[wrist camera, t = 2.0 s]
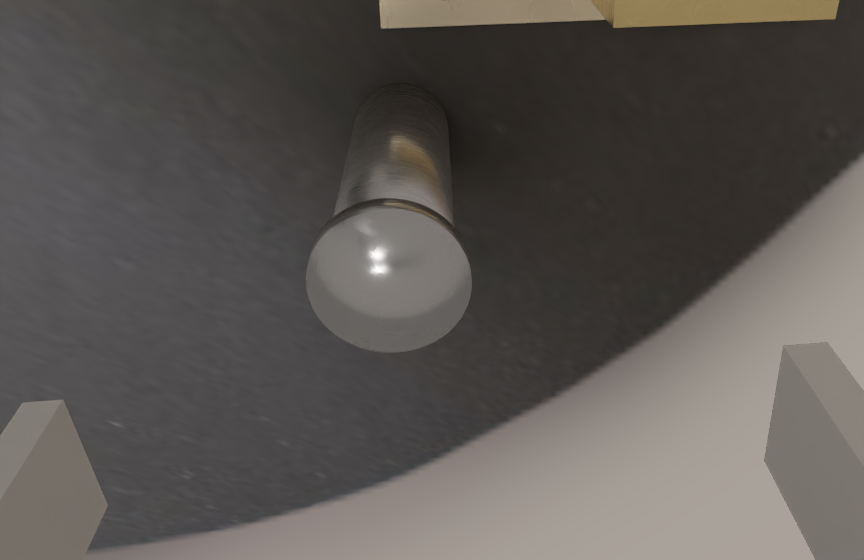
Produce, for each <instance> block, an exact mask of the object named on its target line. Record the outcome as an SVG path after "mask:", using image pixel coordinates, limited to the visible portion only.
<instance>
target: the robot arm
mask: <svg viewBox="0 0 864 560" xmlns="http://www.w3.org/2000/svg"><path fill="white" fill-rule="evenodd" d="M764 461H765V463H766V465H767V467H768V468H769V470H770V472H771V474H772V476H773V478H774V480H775V482H776V484H777V486H778V488H779V490H780V492H781V494H782V496H783V497H784V500H785V501H786V503H787V505H788V507H789V509H790V511H791V513H792V515H793V517H794V519H795V521H796V522H797V525H798V527H799V529H800V530H801V533H802V534H803V536H804V538H805V540H806V542H807V544H808V546H809V548H810V550H811V552H812V554H813V556H814V558H815V560H864V391H863V389H862V388H861V387H860V385H859V384H858V383H857V382H856V380H855V379H854V377H853V376H852V375H851V373H850V372H849V371H848V369H847V368H846V367H845V365H844V364H843V363H842V362H841V360H840V359H839V358H838V356H837V355H836V353H835V352H834V351H833V349H832V348H831V347H830V346H829V344H828V343H827V342H826V343H825V342H824V343H811V344H798V345H784V346H783V351H782V357H781V363H780V369H779V375H778V381H777V387H776V393H775V399H774V405H773V411H772V417H771V423H770V429H769V435H768V442H767V447H766V453H765V459H764ZM107 506H108V505H107V503H106V500H105V498H104V496H103V493H102V491H101V488H100V486H99V484H98V481H97V479H96V477H95V474H94V472H93V470H92V467H91V465H90V462H89V460H88V458H87V455H86V453H85V451H84V448H83V446H82V443H81V441H80V439H79V436H78V434H77V432H76V429H75V427H74V424H73V422H72V420H71V417H70V415H69V413H68V410H67V408H66V406H65V403H64V401H63V400H52V401H39V402H25V403H22V404H21V406H20V407H19V409H18V410H17V412H16V413H15V415H14V416H13V418H12V419H11V421H10V422H9V423H8V425H7V426H6V428H5V429H4V431H3V432H2V434H1V435H0V560H83V558H84V556H85V554H86V551H87V549H88V547H89V545H90V543H91V541H92V538H93V536H94V534H95V532H96V530H97V528H98V526H99V523H100V521H101V519H102V517H103V515H104V513H105V510H106V508H107Z"/></svg>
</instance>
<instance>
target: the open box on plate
mask: <svg viewBox="0 0 864 560" xmlns="http://www.w3.org/2000/svg"><path fill="white" fill-rule="evenodd" d="M838 4H839V0H379V7H380V21H381V29H386V28H412V27H437V26H462V25H487V24H512V23H537V22H562V21H587V20H607V21H608V22H609V24H610V25H611V26H612V27H613V28H622V27H647V26H673V25H698V24H723V23H748V22H773V21H799V20H824V19H835V18H836V13H837V9H838Z"/></svg>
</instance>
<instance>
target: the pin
mask: <svg viewBox="0 0 864 560" xmlns="http://www.w3.org/2000/svg"><path fill="white" fill-rule="evenodd" d="M471 289H472V278H471V267H470V258H469V254H468V250H467V248H466V245H465V243H464V241H463V239H462V237H461V236H460V234H459V232H458V231H457V230H456V229H455V227H454V213H453V197H452V182H451V167H450V151H449V136H448V123H447V118H446V115H445V112H444V110H443V108H442V107H441V105H440V104H439V102H438V101H437V100H436V99H435V98H434V97H433V96H432V95H431V94H430V93H428V92H427V91H425V90H423V89H421V88H419V87H416V86H413V85H408V84H392V85H388V86H385V87H382V88H380V89H378V90H376V91H374V92H373V93H372V94H370V95H369V96H368V97H367V98H366V99H365V100H364V102H363V103H362V104H361V106H360V108H359V110H358V112H357V115H356V119H355V123H354V127H353V132H352V136H351V141H350V145H349V149H348V154H347V158H346V162H345V167H344V171H343V176H342V180H341V184H340V189H339V193H338V197H337V202H336V206H335V210H334V215H333V218H332V219H331V220H329V221H328V222H327V223H326V225H325V226H324V227H323V228H322V229H321V231H320V232H319V234H318V236H317V237H316V239H315V242H314V244H313V246H312V250H311V254H310V258H309V262H308V266H307V270H306V290H307V294H308V298H309V301H310V303H311V306H312V308H313V310H314V312H315V313H316V315H317V316H318V318H319V319H320V320H321V322H322V323H323V324H324V325H325V326H326V327H327V328H328V329H329V330H330V331H331V332H333V333H334V334H335V335H336V336H338V337H339V338H341V339H343V340H344V341H346V342H348V343H350V344H352V345H355V346H357V347H360V348H363V349H367V350H371V351H377V352H393V353H394V352H405V351H410V350H415V349H418V348H421V347H424V346H427V345H429V344H431V343H433V342H435V341H437V340H438V339H440V338H442V337H443V336H444V335H445V334H447V333H448V332H449V331H450V330H451V329H452V328H453V327H454V326H455V325H456V324H457V323H458V321H459V320H460V319H461V318H462V316H463V314H464V312H465V310H466V308H467V306H468V303H469V300H470V296H471Z"/></svg>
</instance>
